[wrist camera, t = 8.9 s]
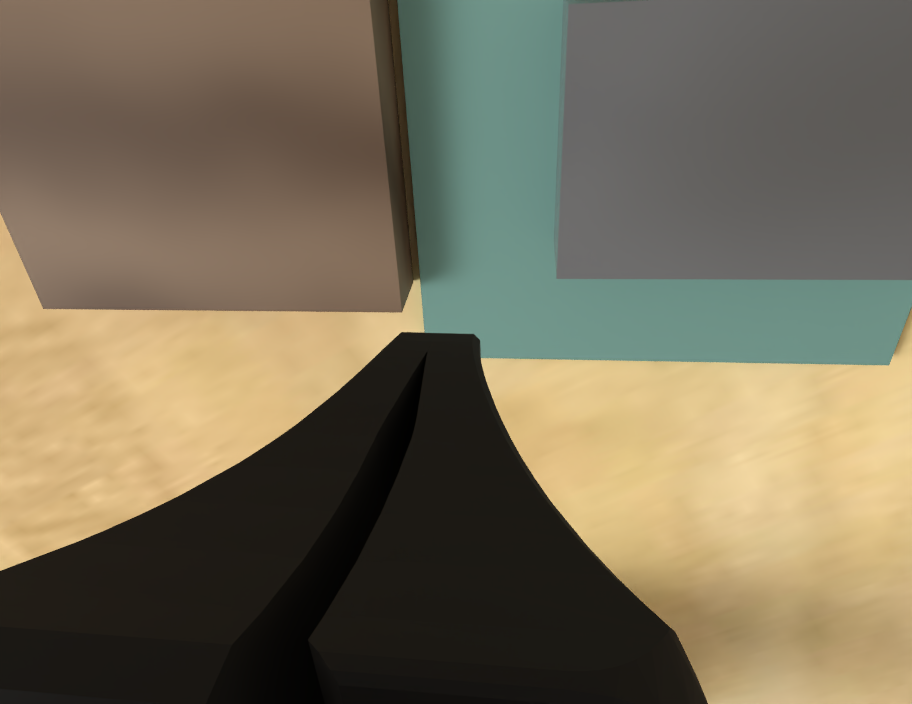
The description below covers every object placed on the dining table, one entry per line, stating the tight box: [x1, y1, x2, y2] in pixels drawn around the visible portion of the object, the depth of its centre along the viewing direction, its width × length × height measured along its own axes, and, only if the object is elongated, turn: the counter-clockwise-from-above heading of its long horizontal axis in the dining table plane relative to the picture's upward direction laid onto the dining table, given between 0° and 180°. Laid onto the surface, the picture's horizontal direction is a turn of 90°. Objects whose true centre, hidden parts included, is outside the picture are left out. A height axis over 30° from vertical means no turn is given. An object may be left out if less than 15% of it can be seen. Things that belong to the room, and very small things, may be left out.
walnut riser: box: [0, 0, 413, 312], centre depth 17 cm, size 9×11×2 cm
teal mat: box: [397, 0, 912, 365], centre depth 16 cm, size 14×14×1 cm
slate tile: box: [554, 0, 912, 280], centre depth 14 cm, size 6×10×2 cm, turn 93°
